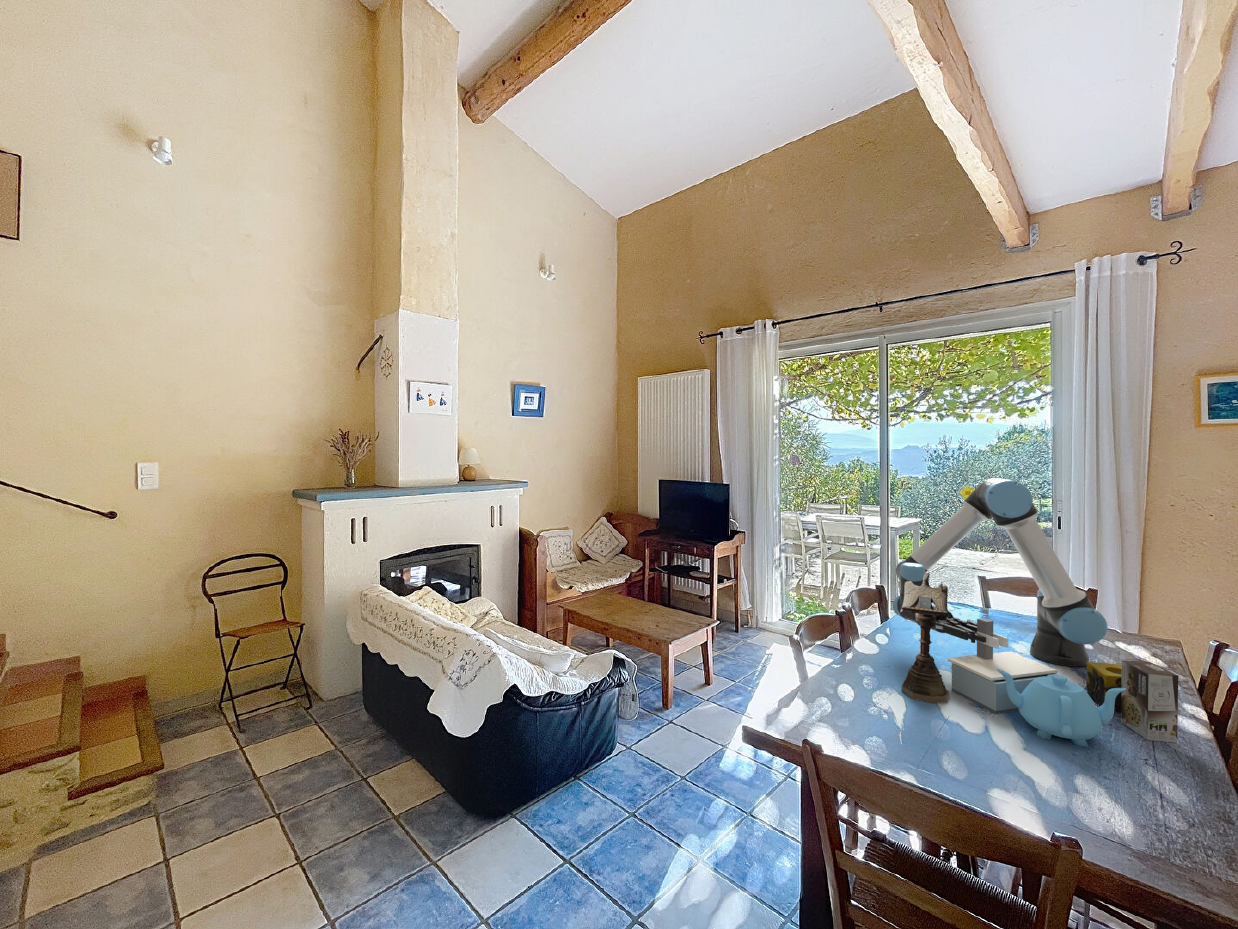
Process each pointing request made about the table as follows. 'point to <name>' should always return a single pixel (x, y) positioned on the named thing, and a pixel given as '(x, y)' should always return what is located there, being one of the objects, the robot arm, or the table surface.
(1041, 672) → the carton lid
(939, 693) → the bird statue
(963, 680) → the carton
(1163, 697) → the coffee box
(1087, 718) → the teapot
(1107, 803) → the table surface
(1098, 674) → the candle
